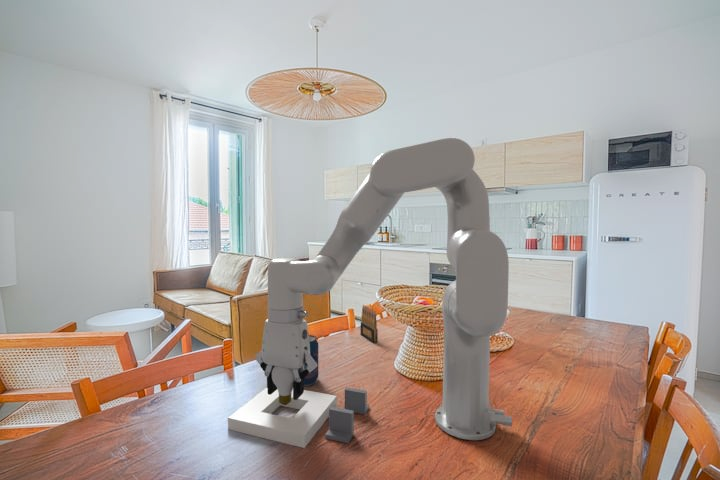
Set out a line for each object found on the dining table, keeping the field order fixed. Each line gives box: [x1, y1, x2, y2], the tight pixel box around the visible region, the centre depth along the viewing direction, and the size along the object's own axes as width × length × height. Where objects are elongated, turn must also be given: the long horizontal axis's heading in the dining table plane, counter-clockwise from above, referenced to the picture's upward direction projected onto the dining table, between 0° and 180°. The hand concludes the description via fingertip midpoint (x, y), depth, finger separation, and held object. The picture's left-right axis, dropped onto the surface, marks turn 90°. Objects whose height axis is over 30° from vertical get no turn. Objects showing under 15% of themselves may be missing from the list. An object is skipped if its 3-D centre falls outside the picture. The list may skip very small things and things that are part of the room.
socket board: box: [227, 387, 338, 449], centre depth 76 cm, size 18×16×2 cm
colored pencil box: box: [360, 304, 379, 344], centre depth 128 cm, size 11×2×12 cm, turn 26°
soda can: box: [303, 334, 319, 387], centre depth 93 cm, size 7×7×12 cm
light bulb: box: [272, 366, 295, 405], centre depth 76 cm, size 6×6×10 cm
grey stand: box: [324, 387, 370, 444], centre depth 74 cm, size 5×14×5 cm, turn 161°
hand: (285, 393), depth 76 cm, fingers closed on light bulb, 5 cm apart
